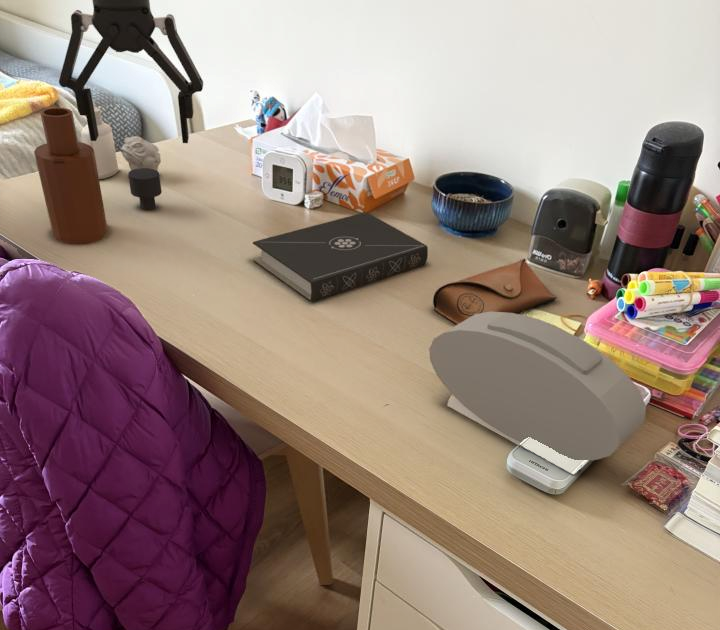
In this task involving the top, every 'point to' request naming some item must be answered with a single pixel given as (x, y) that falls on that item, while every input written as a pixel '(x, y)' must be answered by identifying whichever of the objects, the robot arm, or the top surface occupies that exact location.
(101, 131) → the eye dropper bottle
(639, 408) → the alarm clock
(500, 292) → the sunglasses case
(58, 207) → the brown bottle
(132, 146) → the frog figurine
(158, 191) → the bung
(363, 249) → the book
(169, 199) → the top surface
